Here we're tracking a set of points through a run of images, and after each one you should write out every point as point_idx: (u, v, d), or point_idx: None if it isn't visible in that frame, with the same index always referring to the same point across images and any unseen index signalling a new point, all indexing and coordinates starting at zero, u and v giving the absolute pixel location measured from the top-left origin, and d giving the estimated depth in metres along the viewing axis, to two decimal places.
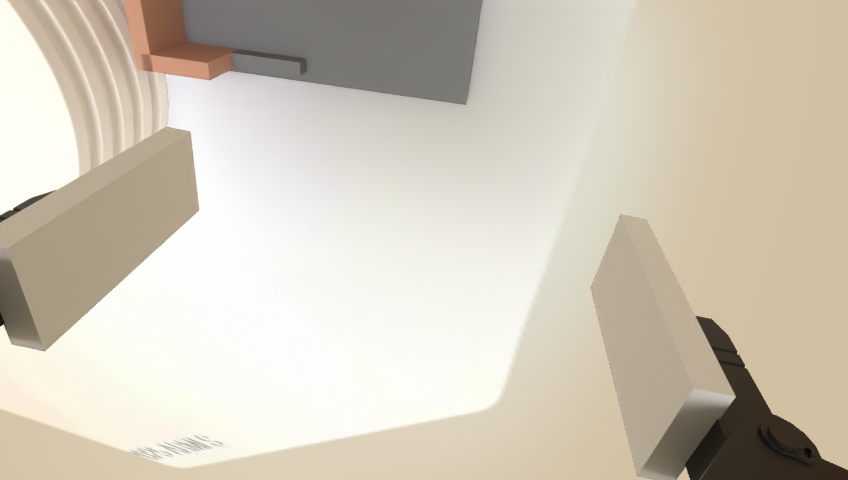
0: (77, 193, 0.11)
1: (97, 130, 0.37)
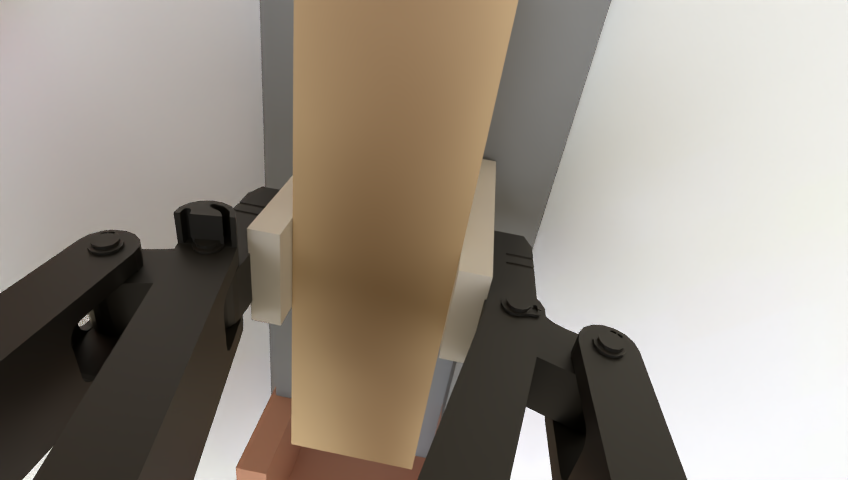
0: None
1: None
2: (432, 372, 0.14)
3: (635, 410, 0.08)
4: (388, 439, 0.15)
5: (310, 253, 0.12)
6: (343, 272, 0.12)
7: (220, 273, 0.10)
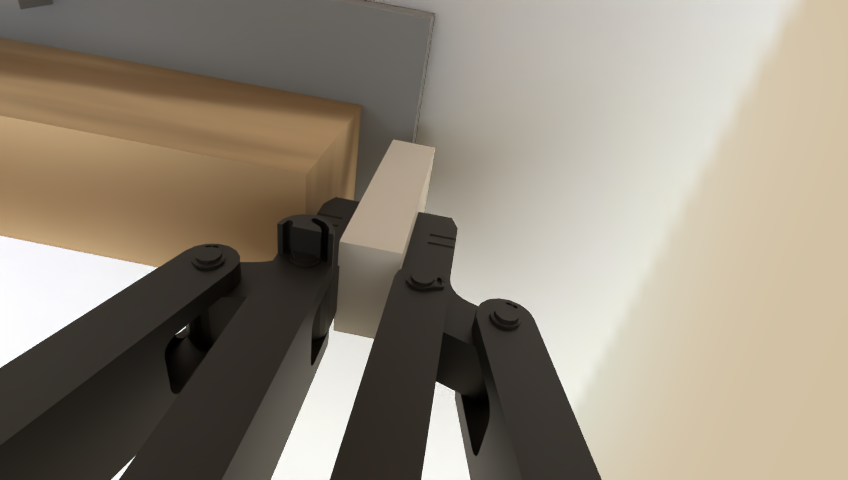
0: (379, 200, 0.13)
1: None
2: None
3: (532, 377, 0.09)
4: None
5: (71, 144, 0.13)
6: (65, 171, 0.14)
7: (313, 289, 0.10)
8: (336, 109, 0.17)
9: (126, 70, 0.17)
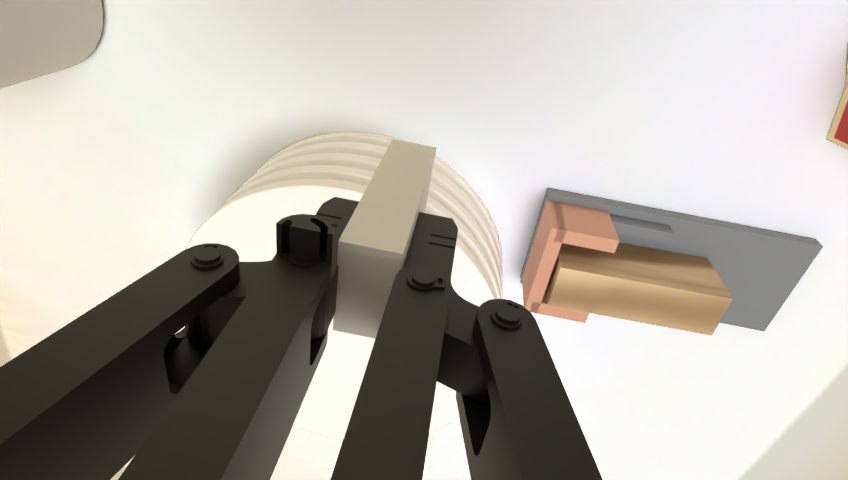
0: (379, 200, 0.13)
1: None
2: (600, 314, 0.43)
3: (534, 377, 0.09)
4: (565, 299, 0.42)
5: (652, 289, 0.41)
6: (644, 296, 0.41)
7: (312, 288, 0.10)
8: (703, 262, 0.45)
9: (620, 247, 0.45)
